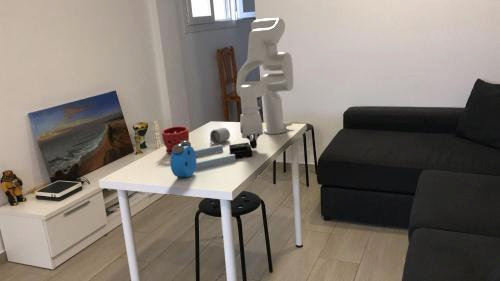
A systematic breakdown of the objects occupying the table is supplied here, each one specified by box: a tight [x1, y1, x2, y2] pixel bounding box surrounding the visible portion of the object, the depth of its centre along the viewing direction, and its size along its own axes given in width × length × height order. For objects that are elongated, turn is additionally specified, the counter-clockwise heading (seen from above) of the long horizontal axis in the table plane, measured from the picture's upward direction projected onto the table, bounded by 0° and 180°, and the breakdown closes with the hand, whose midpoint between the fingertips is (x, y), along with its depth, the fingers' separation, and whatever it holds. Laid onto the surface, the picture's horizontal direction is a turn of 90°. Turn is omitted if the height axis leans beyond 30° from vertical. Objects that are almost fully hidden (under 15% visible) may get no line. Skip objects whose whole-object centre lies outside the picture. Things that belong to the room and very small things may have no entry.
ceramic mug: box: [209, 127, 231, 145], centre depth 237 cm, size 11×8×8 cm
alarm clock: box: [169, 140, 197, 179], centre depth 190 cm, size 13×6×15 cm, turn 163°
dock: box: [194, 144, 237, 170], centre depth 210 cm, size 18×20×3 cm
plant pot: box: [161, 125, 190, 156], centre depth 226 cm, size 13×13×12 cm
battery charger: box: [228, 142, 254, 160], centre depth 213 cm, size 13×10×4 cm
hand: (253, 147), depth 217 cm, fingers closed
